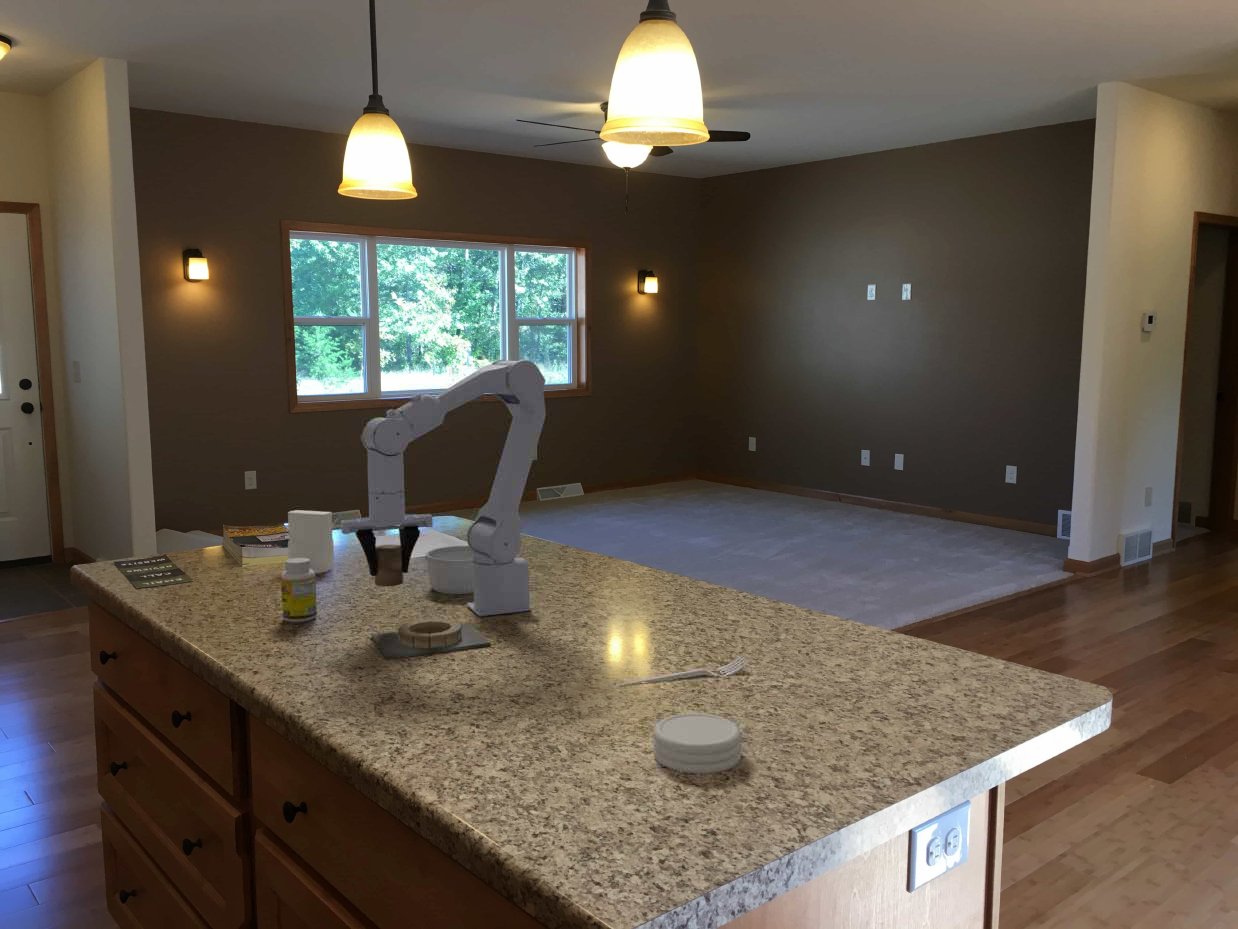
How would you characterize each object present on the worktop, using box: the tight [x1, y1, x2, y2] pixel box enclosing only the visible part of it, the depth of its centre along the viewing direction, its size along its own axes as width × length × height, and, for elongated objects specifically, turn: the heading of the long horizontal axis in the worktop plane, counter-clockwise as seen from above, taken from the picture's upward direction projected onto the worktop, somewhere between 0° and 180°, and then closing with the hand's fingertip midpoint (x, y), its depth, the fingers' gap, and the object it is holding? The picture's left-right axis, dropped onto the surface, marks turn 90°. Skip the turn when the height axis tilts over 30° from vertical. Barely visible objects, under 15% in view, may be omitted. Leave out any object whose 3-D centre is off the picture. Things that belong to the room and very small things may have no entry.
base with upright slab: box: [287, 509, 335, 574], centre depth 202 cm, size 9×9×12 cm
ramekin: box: [425, 545, 474, 595], centre depth 188 cm, size 13×13×7 cm
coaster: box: [652, 712, 743, 775], centre depth 111 cm, size 10×10×4 cm
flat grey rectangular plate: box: [370, 618, 492, 660], centre depth 153 cm, size 16×12×2 cm
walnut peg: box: [374, 544, 404, 587], centre depth 160 cm, size 4×4×6 cm
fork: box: [615, 656, 749, 687], centre depth 137 cm, size 3×20×2 cm, turn 111°
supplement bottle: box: [280, 558, 318, 623], centre depth 165 cm, size 6×6×10 cm
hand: (388, 573), depth 160 cm, fingers closed on walnut peg, 4 cm apart
